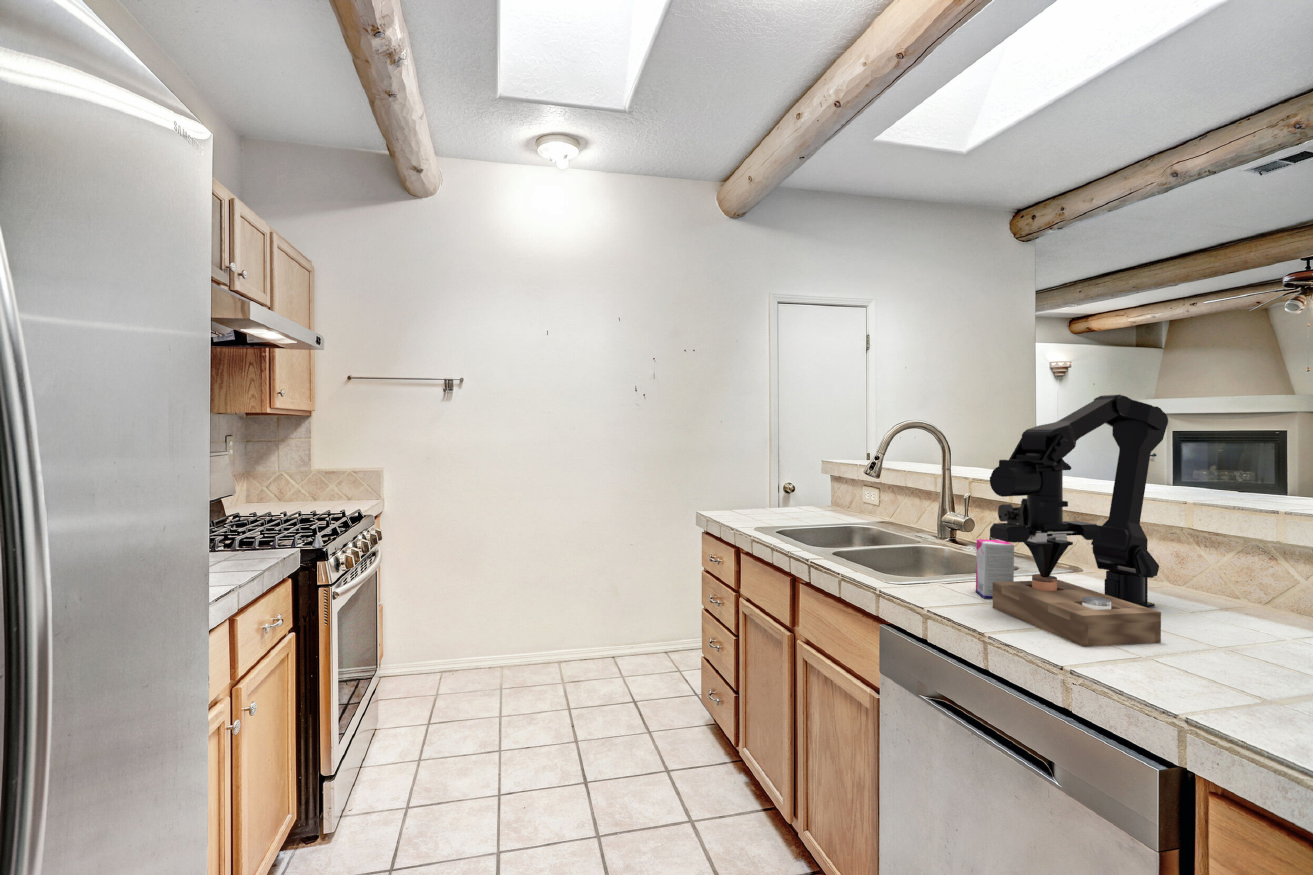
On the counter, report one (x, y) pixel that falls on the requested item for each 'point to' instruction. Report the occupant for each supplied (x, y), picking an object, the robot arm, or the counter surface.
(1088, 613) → the wooden holder block
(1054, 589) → the terracotta plug
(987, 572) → the supplement box
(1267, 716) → the counter surface
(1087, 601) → the plug
